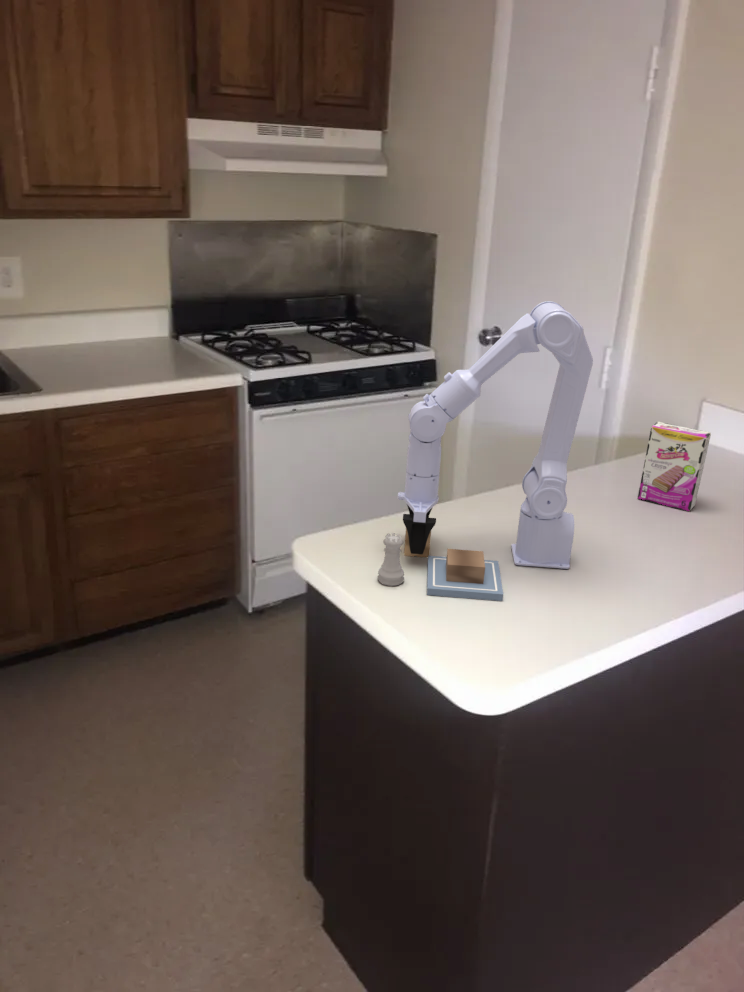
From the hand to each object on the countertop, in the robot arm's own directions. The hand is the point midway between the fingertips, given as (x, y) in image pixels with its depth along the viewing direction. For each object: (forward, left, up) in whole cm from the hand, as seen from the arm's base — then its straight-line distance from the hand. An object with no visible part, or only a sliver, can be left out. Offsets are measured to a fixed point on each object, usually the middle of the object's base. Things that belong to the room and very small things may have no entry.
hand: (417, 543), depth 146 cm
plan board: (-8, +10, -1) cm, 13 cm away
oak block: (0, 0, -2) cm, 2 cm away
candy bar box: (-52, -33, -2) cm, 62 cm away
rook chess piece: (+4, +12, -2) cm, 13 cm away
